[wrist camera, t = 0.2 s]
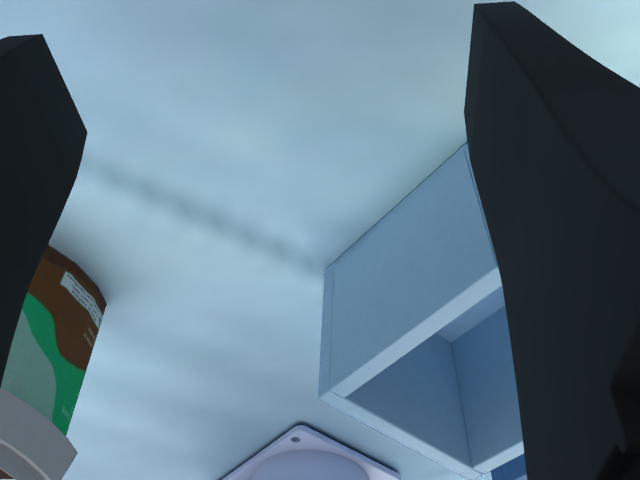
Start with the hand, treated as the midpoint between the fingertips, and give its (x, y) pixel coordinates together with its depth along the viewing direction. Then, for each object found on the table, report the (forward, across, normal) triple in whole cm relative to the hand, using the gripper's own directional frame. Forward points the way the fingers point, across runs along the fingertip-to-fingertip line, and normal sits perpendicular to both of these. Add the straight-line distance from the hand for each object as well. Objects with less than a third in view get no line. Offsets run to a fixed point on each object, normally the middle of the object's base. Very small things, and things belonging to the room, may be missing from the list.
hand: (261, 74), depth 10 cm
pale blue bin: (+8, -5, +15) cm, 18 cm away
